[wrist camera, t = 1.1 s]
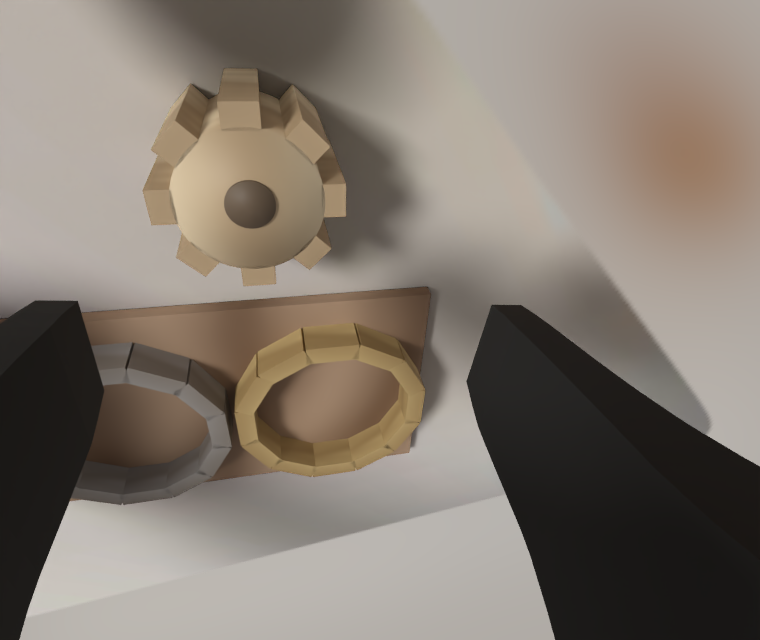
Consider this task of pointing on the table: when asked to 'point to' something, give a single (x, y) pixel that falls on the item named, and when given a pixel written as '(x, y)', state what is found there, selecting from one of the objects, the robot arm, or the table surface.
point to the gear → (245, 179)
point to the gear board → (226, 356)
